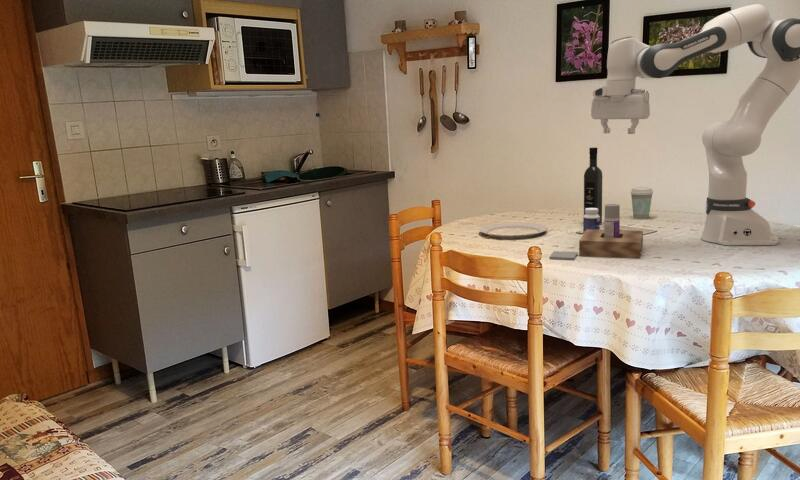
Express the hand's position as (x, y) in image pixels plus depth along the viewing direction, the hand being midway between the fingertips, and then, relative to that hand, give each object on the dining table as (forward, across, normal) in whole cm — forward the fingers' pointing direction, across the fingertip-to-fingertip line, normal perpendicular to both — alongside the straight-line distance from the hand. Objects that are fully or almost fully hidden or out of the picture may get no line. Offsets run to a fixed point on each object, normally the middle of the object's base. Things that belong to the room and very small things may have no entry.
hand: (618, 133), depth 203 cm
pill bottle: (+37, +15, -6) cm, 41 cm away
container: (+37, -5, +8) cm, 38 cm away
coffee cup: (+37, +22, -45) cm, 62 cm away
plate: (+38, +40, +9) cm, 56 cm away
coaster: (+38, +1, +24) cm, 45 cm away
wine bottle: (+37, +28, -23) cm, 52 cm away
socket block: (+37, -5, +8) cm, 38 cm away
